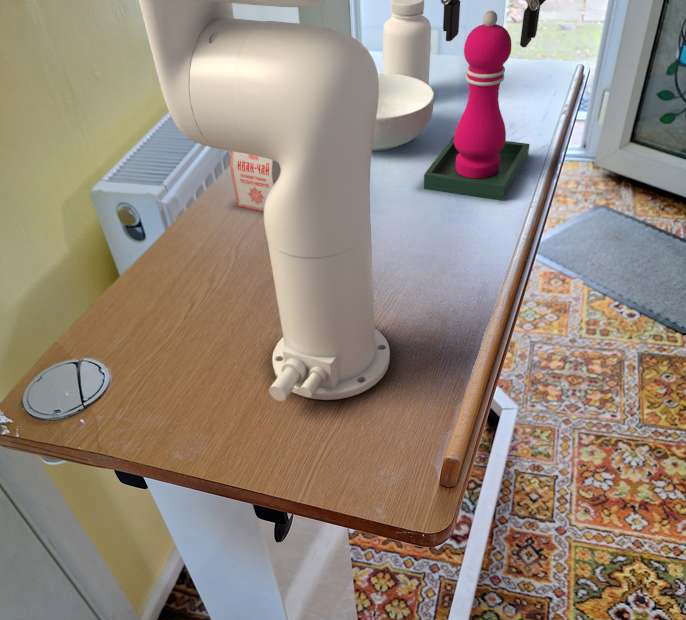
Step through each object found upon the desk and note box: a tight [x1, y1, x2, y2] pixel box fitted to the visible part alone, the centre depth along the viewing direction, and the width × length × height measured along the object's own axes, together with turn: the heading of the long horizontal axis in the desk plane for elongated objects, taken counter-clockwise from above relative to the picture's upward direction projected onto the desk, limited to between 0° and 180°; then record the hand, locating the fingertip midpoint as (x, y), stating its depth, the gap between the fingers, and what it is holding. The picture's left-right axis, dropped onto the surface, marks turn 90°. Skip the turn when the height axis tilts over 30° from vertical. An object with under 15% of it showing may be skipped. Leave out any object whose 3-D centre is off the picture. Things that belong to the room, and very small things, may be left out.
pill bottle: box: [382, 0, 432, 86], centre depth 113 cm, size 8×8×15 cm
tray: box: [423, 134, 531, 201], centre depth 98 cm, size 14×12×2 cm
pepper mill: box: [453, 10, 512, 179], centre depth 91 cm, size 7×7×20 cm
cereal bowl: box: [372, 73, 435, 152], centre depth 105 cm, size 17×17×7 cm
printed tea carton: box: [229, 151, 281, 212], centre depth 93 cm, size 4×7×10 cm, turn 63°
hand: (488, 40), depth 86 cm, fingers open, 9 cm apart
